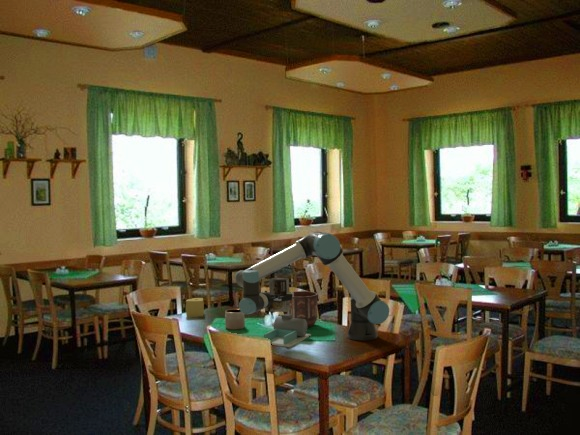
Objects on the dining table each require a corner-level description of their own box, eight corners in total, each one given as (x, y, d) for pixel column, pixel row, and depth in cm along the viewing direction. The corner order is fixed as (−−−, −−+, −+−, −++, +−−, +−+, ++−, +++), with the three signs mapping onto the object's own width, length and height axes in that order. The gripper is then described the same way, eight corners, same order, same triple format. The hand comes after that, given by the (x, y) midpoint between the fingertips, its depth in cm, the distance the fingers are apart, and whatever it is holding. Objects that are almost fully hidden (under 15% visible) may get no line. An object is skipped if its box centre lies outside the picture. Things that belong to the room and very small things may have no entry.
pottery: (307, 320, 356) (306, 289, 354) (324, 326, 340) (323, 294, 339) (280, 324, 347) (279, 293, 346) (296, 331, 332) (295, 298, 330)
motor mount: (310, 335, 320) (310, 314, 319) (289, 347, 299) (289, 323, 298) (278, 332, 329) (278, 311, 328) (256, 343, 307) (255, 320, 307)
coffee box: (290, 309, 309) (289, 277, 308) (287, 312, 303) (286, 279, 302) (272, 309, 311) (272, 277, 310) (269, 311, 305) (268, 279, 304)
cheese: (186, 314, 380) (186, 298, 379) (204, 313, 381) (204, 297, 381) (185, 317, 370) (185, 301, 369) (204, 316, 371) (203, 300, 370)
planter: (241, 330, 335) (241, 313, 334) (222, 329, 337) (222, 312, 336) (247, 325, 345) (246, 308, 345) (228, 325, 348) (228, 308, 347)
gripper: (241, 307, 296) (264, 299, 316) (283, 310, 286) (303, 302, 305) (241, 291, 295) (264, 284, 315) (282, 294, 285) (303, 287, 305)
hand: (283, 293), depth 310 cm, fingers closed on coffee box, 10 cm apart
